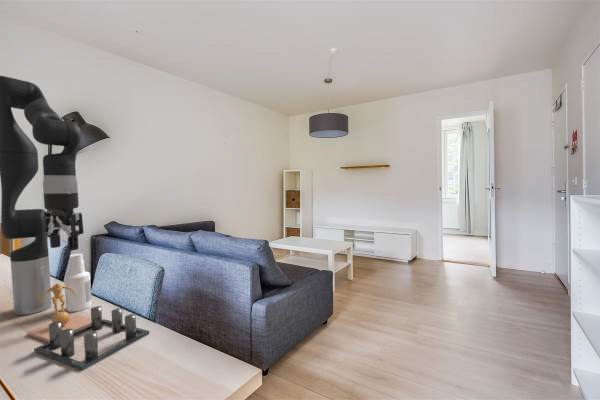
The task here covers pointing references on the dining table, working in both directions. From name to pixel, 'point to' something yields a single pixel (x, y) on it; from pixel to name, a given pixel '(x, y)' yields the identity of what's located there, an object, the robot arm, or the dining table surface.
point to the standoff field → (89, 338)
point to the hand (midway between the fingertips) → (64, 248)
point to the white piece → (77, 285)
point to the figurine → (56, 291)
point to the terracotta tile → (73, 323)
